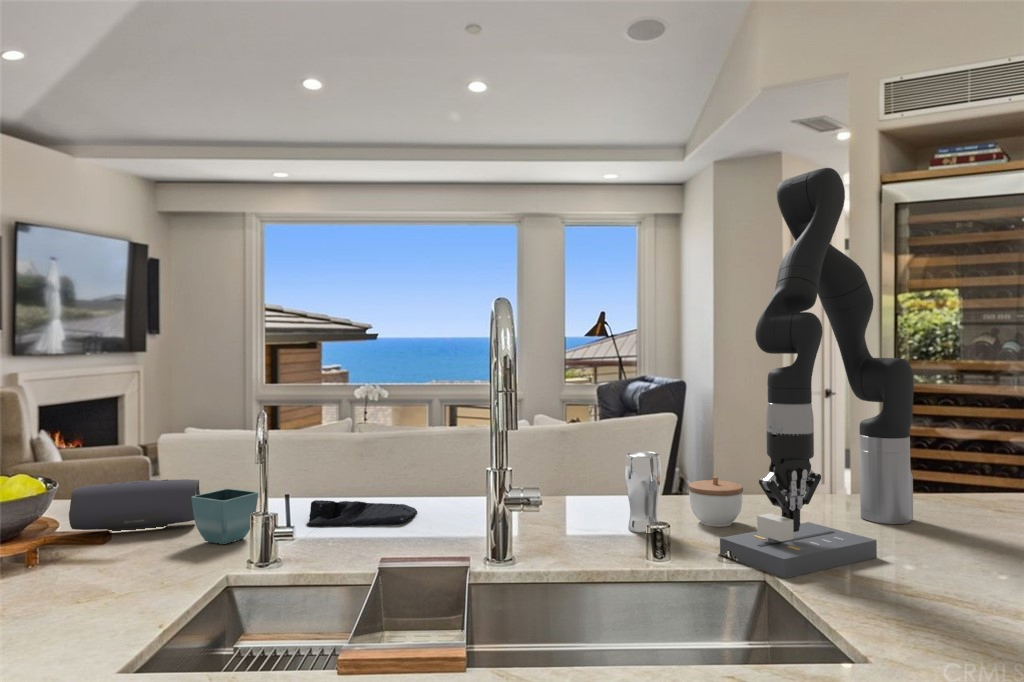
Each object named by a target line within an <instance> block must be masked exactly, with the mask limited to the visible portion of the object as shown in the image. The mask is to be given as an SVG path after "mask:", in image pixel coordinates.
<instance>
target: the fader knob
mask: <svg viewBox="0 0 1024 682" xmlns="http://www.w3.org/2000/svg"><path fill="white" fill-rule="evenodd" d="M756 516H757V518H756V520H757V521H756V526H757V527H756V528H757V530H756V531H757V534H758V535H761V536H765V537H768V541H769V542H772V543H777V542H782V541H785V540H791V539H794V535H793V519H789V518H785V517H782V515H777V514H773V513H765V514H759V515H756Z"/></svg>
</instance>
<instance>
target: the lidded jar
mask: <svg viewBox="0 0 1024 682" xmlns="http://www.w3.org/2000/svg"><path fill="white" fill-rule="evenodd" d="M688 490H689V491H688V496H689V497H688V498H689V504H690V508H691V510H692V513H693V514H694V516H695V517H696V518H697V519H698V520H699V522H700V524H702V525H705V526H708V527H713V528H714V527H715V528H716V527H718V528H720V527H721V528H723V527H729V526H731V525H732V523H733V522H734V521H735V520H736V519H738V517H739V515H740V513H741V511H742V506H743V492H744V487H743V485H742V484H740V483H738V482H734V481H727V480H719V477H718V476H713V477H712V479H709V480H705V479H704V480H697V481H692V482H690V483H688Z"/></svg>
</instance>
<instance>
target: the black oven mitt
mask: <svg viewBox="0 0 1024 682" xmlns="http://www.w3.org/2000/svg"><path fill="white" fill-rule="evenodd" d="M416 514H418V510H417V508H415V507H414V506H413V507H412V506H410V505H408V504H404V503H386V502H385V503H382V502H379V503H377V502H375V503H374V502H366V501H365V502H364V501H358V500H355V501H349V500H343V501H341V500H340V501H335V500H334V501H333V500H323V499H322V500H320V499H319V500H313V501H311V502H310V511H309V515H308V516H309V519H308V522H307V523H306V525H307V526H308V527H317V526H319V527H320V526H323V527H349V526H350V527H351V526H377V525H378V526H385V525H397V524H400V523H402V522H404V521H406V520H408V519H409V518H411V517H413V516H415V515H416Z"/></svg>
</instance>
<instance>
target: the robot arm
mask: <svg viewBox="0 0 1024 682" xmlns="http://www.w3.org/2000/svg"><path fill="white" fill-rule="evenodd" d="M845 190H846V189H845V185H844V181H843V179H842V178H841V175H840V174H839V172H838V171H837V170H836V169H834V168H831V167H822V168H819V169H815V170H811V171H808V172H805V173H801V174H799V175H796V176H792V177H789V178H787V179H785V180H782V181H780V182H779V184H778V185H777V189H776V200H777V204H778V207H779V210H780V214H781V215H782V218H783V220H784V222H785V224H786V226H787V228H788V230H789V232H790V234H791V236H792V238H793V239H794V243H793V244H792V245H791V246H790V247H789V249H788V251H787V252H786V253H785V255H784V257H783V258H782V260H781V263H780V265H779V269H778V272H777V277H776V282H775V283H776V284H775V288H774V292H773V294H772V296H771V298H770V299H769V301H768V303H767V305H766V306H765V308H764V310H763V311H762V313H761V314H760V316H759V319H758V321H757V323H756V327H755V334H754V336H755V342H756V344H757V346H758V348H759V349H760V350H761V351H762V352H764V353H765V354H771V355H773V354H774V355H775V354H777V355H780V354H786V355H787V354H789V355H790V354H791V355H792V354H793V355H794V354H796V355H797V356H796V359H795V361H794V362H793V363H792V364H790V365H788V366H787V365H786V366H781V367H778V368H777V367H776V368H773V369H771V370H769V372H768V374H767V383H766V384H767V407H766V416H765V417H766V421H765V422H766V425H765V426H766V454H767V456H768V457H769V458H770V464H769V467H768V472H769V473H768V474H767V475H766V476H765V477H760V478H759V479H758V484H759V486H760V487H761V490H763V492H764V494H765V495H766V497H767V499H768V500H769V502H770V503H771V505H772V506H775V507H779V508H780V509H781V517H785V518H789V519H793V532H797V531H799V527H800V523H801V510H802V509H803V506H804V505H809V504H810V502H811V501H812V498H813V496H814V494H815V492H816V490H817V488H818V486H819V484H820V481H821V480H822V475H821V474H820V473H816V472H814V471H813V470H812V464H811V459H813V458H814V456H815V446H814V445H815V441H814V440H815V439H814V437H815V434H814V433H815V432H814V413H813V412H814V410H813V404H812V402H813V399H812V398H813V397H812V395H813V394H812V389H813V388H812V380H813V379H812V378H813V372H814V367H815V362H816V359H817V355H818V351H819V348H820V345H821V343H822V337H823V332H824V331H823V330H824V329H823V324H822V322H821V320H820V317H818V316H817V315H816V314H815V313H813V312H809V311H808V310H811V308H813V307H814V306H815V304H816V302H817V299H818V298H819V300H820V303H821V306H822V308H823V311H824V313H825V314H826V317H827V319H828V321H829V324H830V326H831V329H832V331H833V334H834V337H835V341H836V343H837V345H838V349H839V353H840V356H841V360H842V363H843V367H844V370H845V374H846V376H847V377H846V378H847V381H848V384H849V386H850V387H849V388H850V389H851V391H852V392H853V394H854V396H855V397H856V398H857V399H858V400H861V401H865V402H872V403H882V409H881V411H880V412H879V414H877V415H875V416H873V417H870V418H867V419H863V420H861V421H860V422H859V483H860V484H859V485H860V486H859V487H860V488H859V491H860V492H859V493H860V498H859V499H860V501H859V502H860V517H861V518H862V519H863V520H866V521H870V522H872V523H877V524H878V523H879V524H887V525H902V524H903V525H904V524H909V523H911V522H912V520H914V478H913V473H912V471H911V427H912V423H913V410H914V409H913V407H914V390H915V389H914V387H915V381H914V373H913V369H912V366H911V364H910V363H909V362H908V361H907V360H906V359H903V358H900V357H899V358H898V357H873V356H872V355H871V353H870V351H869V348H868V345H867V342H866V331H867V328H868V326H869V322H870V319H871V316H872V313H873V309H874V297H873V294H872V289H871V287H870V285H869V283H868V280H867V277H866V274H865V273H864V271H863V269H862V268H861V266H859V264H858V263H856V261H854V260H853V259H852V258H850V257H849V256H848V255H846V254H845V253H843V252H842V251H840V250H839V249H838V248H836V247H835V246H833V245H832V244H831V242H832V240H833V237H834V235H835V231H836V230H837V226H838V223H839V220H840V218H841V215H842V212H843V209H844V205H845V200H846V191H845Z"/></svg>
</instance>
